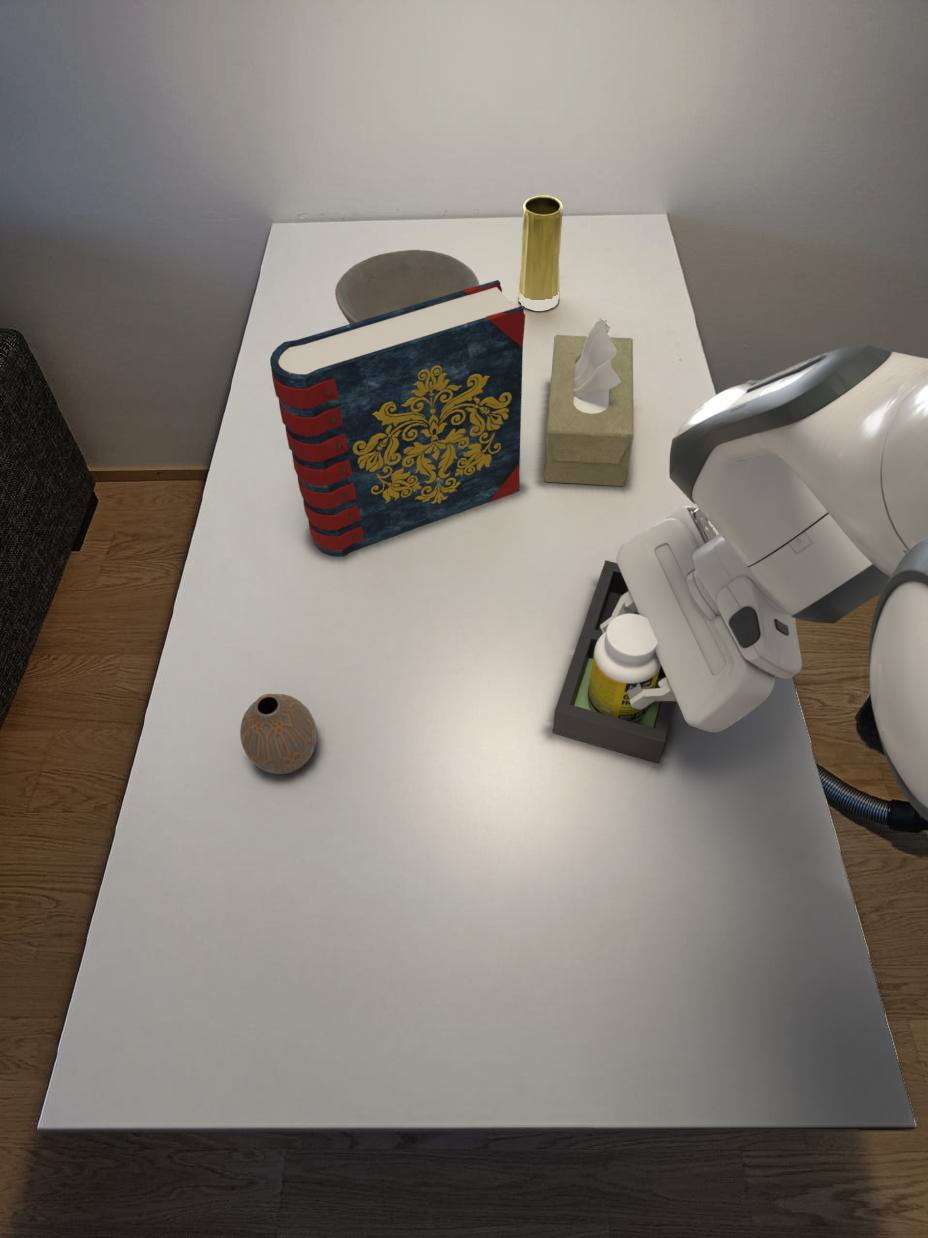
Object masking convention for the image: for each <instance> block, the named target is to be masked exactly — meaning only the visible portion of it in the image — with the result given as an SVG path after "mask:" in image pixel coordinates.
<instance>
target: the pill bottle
mask: <svg viewBox="0 0 928 1238" xmlns="http://www.w3.org/2000/svg"><path fill="white" fill-rule="evenodd" d="M657 643H658V642H657V639H656V637H655V635H654V633H653V630H652V628H651V626H650V624H649V621H648V619H647V618H646V617H644V616H641V615H638V614H623V615H620V616H618V617H616V618H614V619H613V620H612V621H611V622H610V623H609V625H608V627H607V630H606V632H605V633H603V634H602V635H601V637H600V638H599V639H598V641H597V643H596V646H595V650H594V656H593V662H592V668H591V674H590V680H589V686H588V702H589V704H590V707H591V708H592V710H593V711H595V712H598V713H602V714H606V715H609V716H613V717H616V718H620V719H623V720H627V721H631V722H635V721H637V720H639V719H640V718H641V717H643V716H644V715H645V713H646V712H647V710H648V708H649V706H650V704H649V705H648V706H646V707H645V708H643V709H636V708H634V707H631V704H630V701H629V699H628V696H627V694H626V692H627V690H629V689H632V688H633V686H635V685H636V684H637V683H642V684H644V685H645V686H649V687H650V688H651V689H654V688H655V685H656V681H657V678H658V674H659V671H660V667H661V663H660V661H659V659H658V656H657V654H656V652H655V649H656V647H657Z"/></svg>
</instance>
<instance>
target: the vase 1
mask: <svg viewBox="0 0 928 1238" xmlns="http://www.w3.org/2000/svg"><path fill="white" fill-rule="evenodd" d="M239 735H240V743H241V746H242V748H243V751H244V752H245V754H246V756H247V758H248V760H250V762H251V763H252V764H253V765H255V766H256V767H257V768H259V769H260V770H262V771H264V772H266V773H270V774H276V775H283V774H284V775H285V774H289V773H292V772H294V771H297V770H299V769H300V768H302V767H303V766H304V765H305V764H306V763H307V762H308V761H309V759H311V756H312V755H313V753H314V751H315V748H316V745H317V739H318V733H317V726H316V722H315V719H314V716H313V715H312V713H311V711H310V710H309V708H307V707H306V705H305V704H304V703H303V702H302V701H300V700H299V699H297V698H295V697H293V696H291V695H289V694H284V693H266V694H262V695H261V696H259V697H258V698H257V699H256V700H255V701H253V703H251V704H250V705H249V706H248V708H247V710H246V711H245V713H244V714H243V717H242V720H241V723H240V734H239Z"/></svg>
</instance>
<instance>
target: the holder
mask: <svg viewBox="0 0 928 1238" xmlns="http://www.w3.org/2000/svg"><path fill="white" fill-rule="evenodd" d="M603 563H604V564H603V566H602V569H601V572H600V575H599V578H598V581H597V584H596V587H595V590H594V593H593V596H592V599H591V602H590V605H589V607H588V610H587V613H586V617H585V619H584V623H583V626H582V629H581V632H580V635H579V637H578V640H577V643H576V646H575V650H574V653H573V655H572V657H571V658H572V659H571V661H570V664H569V667H568V671H567V673H566V675H565V679H564V682H563V686H562V687H561V691H560V694H559V697H558V700H557V703H556V706H555V709H554V714H553V724H552V725H553V726H552V734H555V735H560V736H563V737H566V738H569V739H572V740H575V741H580V742H582V743H586V744H590V745H594V746H596V747H600V748H603V749H607V750H611V751H614V752H617V753H621V754H624V755H628V756H632V757H635V758H638V759H641V760H646V761H649V762H651V763H654V764H655V763H656V764H659V762H660V759H661V755H662V752H663V750H664V747H665V743H666V739H667V735H668V731H669V727H670V722H671V719H672V716H673V715H672V714H673V711H674V707H675V703H676V701H654V702H652V703H651V704H650V706H649V708H648V710H647V712H646V713H645V715H644V716H643V717H641V718H640V719H639V720H637V721H635V722H631V721H627V720H623V719H620V718H616V717H613V716H609V715H606V714H602V713H598V712H595V711H593V710H592V708H591V707H590V704H589V702H588V686H589V680H590V674H591V668H592V662H593V656H594V650H595V646H596V643H597V641H598V639H599V638H600V637H601V635H602V634H603V633H602V631H601V628H600V625H601V624H602V623H604V622H605V621H606V620H608V619H609V618H610V617H612V613H613V611H614V609H615V607H616V605H617V603H618V602H619V600H620V598H621V596H622V595H624V594H625V593H626V592H628V591H629V589H628V587H627V585H626V582H625V580H624V578H623V576H622V573H621V571H620V569H619V566H618V564H617V562H616V561H610V560H604V562H603ZM634 614H638V615H639V613H637V612H634ZM665 677H666V675H665V672H664V670H663V668H662V665H661V667H660V671H659V674H658V678H657V681H656V685H655V688H654V689H656V688H661V687H659V684H658V682H659V681H660V680H662V679H663V678H665Z"/></svg>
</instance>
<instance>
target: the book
mask: <svg viewBox="0 0 928 1238" xmlns="http://www.w3.org/2000/svg"><path fill="white" fill-rule="evenodd" d="M500 281H501V280H499V279H496V280H493V281H489V282H485V283H483V284H479V286H475V287H471V288H467V289H464V290H462V291H459V292H456V293H452V294H449V295H446V296H442V297H439V298H435V299H432V300H429V301H425V302H422V303H419V304H415V305H412V306H409V307H405V308H402V309H399V310H395V311H392V312H389V313H385V314H382V315H379V316H375V317H372V318H368V319H365V320H362V321H358V322H355V323H352V324H350V323H349V324H345V325H342V326H338V327H335V328H331V329H329V330H325V331H322V332H318V333H315V334H313V335H308V336H305V337H302V338H298V339H294V340H293V339H292V340H288V341H283V342H282V343H281V344H279V345H278V346H277V347H276V348H275V349H274V351H272V353H271V356H270V359H269V361H270V370H271V378H272V383H273V389H274V393H275V396H276V397H277V398H278V405H279V411H280V412H279V413H280V416H281V422H282V424H283V425H284V426H285V427H284V429H285V435H286V440H287V444H288V449H289V450H290V451H291V456H292V462H293V468H294V469H293V470H294V471H295V473H296V476H297V477H296V478H297V484H298V490H299V492H300V495H301V497H302V501H303V509H304V512H305V516H306V518H307V520H308V528H309V533H310V536H311V539H312V541H313V542H314V544H315V546H316V548H317V549H318V550H319V551H321V553H324V554H326V555H329V556H333V557H345V556H346V555H348V554H349V553H352V552H353V551H357V550H359V549H361V548H364V547H367V546H370V545H372V544H376V543H378V542H381V541H383V540H386V539H390V538H392V537H394V536H397V535H400V534H403V533H406V532H409V531H412V530H413V529H417V528H419V527H423V526H425V525H428V524H431V523H433V522H436V521H439V520H442V519H445V518H447V517H450V516H452V515H456V514H458V513H460V512H463V511H466V510H469V509H472V508H476V507H477V506H480V505H483V504H486V503H488V502H490V503H491V502H492V501H495V500H498V499H501V498H504V497H506V496H509V495H512V494H514V493H517V492H519V491H520V470H521V469H520V468H521V431H522V428H521V427H522V394H523V390H522V389H523V356H524V355H523V353H524V349H523V348H524V336H525V324H526V314H525V308H523V307H522V306H521V305H520V306H517V307H515V306H514V305H513V304H512V302H510V300H509V299H508V298H507V296H505V294H504V293H503V288H502V286H501V282H500Z"/></svg>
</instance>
